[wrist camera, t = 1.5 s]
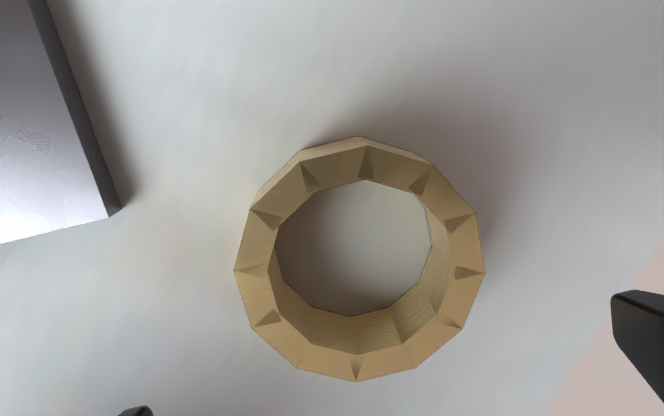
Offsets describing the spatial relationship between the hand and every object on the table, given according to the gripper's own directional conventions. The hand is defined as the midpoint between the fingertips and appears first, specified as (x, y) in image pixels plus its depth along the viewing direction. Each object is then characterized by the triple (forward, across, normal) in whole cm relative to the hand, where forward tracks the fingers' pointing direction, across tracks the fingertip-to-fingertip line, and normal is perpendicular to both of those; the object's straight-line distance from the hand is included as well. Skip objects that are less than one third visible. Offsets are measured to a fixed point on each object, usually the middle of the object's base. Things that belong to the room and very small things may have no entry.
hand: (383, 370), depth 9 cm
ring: (+7, 0, 0) cm, 7 cm away
